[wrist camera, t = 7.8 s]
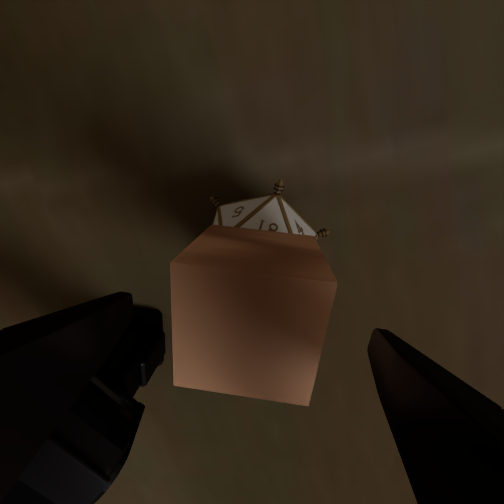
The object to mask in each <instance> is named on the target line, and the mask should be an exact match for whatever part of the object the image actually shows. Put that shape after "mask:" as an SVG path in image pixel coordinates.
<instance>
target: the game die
mask: <svg viewBox="0 0 504 504" xmlns="http://www.w3.org/2000/svg"><path fill="white" fill-rule="evenodd" d="M283 188H284V186H283V182H282V178H281V179H280V180H279V181H278V182H277V183H276V184H275V188H274V193H271V194H267V195H262V196H258V197H253V198H249V199H244V200H240V201H235V202H231V203H226V204H222V205H221V204H220V203H219V200H217V197H216V198H214V197H211V196H210V201H211V202H210V203H211V204H213V206H216V207H217V209H216V213H215V216H214V220H213V223H212V224H213V225H222V226H230V227H239V228H248V229H257V230H266V231H275V232H284V233H293V234H302V235H311V236H314V238H315V240H316V242H317V240H318V237H324V236H327V234H328V233H329V232H330V231H329V230H326V229H324V228H323V230H321V229H320V231H318V232H316V231H315V230H314V229H313V228H312V227H311V226H310V225H309V224H308V223H307V222H306V221H305V220H304V219H303V218H302V217H301V216H300V215H299V214H298V213H297V212H296V211H295V210H294V209H293V208H292V207H291V206H290V205H289V204H288V203H287V202H286V201H285V200H284V199H283V198H282V197H281V196H280V193H281V191H283V190H282V189H283Z"/></svg>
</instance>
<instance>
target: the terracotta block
mask: <svg viewBox="0 0 504 504" xmlns="http://www.w3.org/2000/svg"><path fill="white" fill-rule="evenodd" d="M170 276H171V309H172V343H173V377H174V386H180V387H186V388H193V389H199V390H206V391H212V392H219V393H226V394H232V395H239V396H245V397H252V398H258V399H265V400H271V401H278V402H284V403H291V404H297V405H304V406H309V402H310V398H311V394H312V390H313V385H314V381H315V377H316V373H317V369H318V364H319V360H320V356H321V352H322V348H323V343H324V339H325V335H326V331H327V327H328V322H329V318H330V314H331V310H332V306H333V301H334V297H335V293H336V289H337V285H338V282H337V280H336V278H335V276H334V274H333V272H332V271H331V269H330V267H329V265H328V263H327V261H326V259H325V257H324V255H323V253H322V252H321V250H320V248H319V246H318V244H317V242H316V240H315V238H314V236H311V235H302V234H293V233H284V232H275V231H266V230H257V229H248V228H239V227H230V226H222V225H213V224H212V225H211V226H210V227H208V228H207V229H206V230H205V231H204V232H203V233H202V234H201V235H200V236H198V237H197V238H196V239H195V240H194V241H193V242H192V243H191V244H190V245H189V246H187V247H186V248H185V249H184V250H183V251H182V252H181V253H180V254H179V255H177V256H176V257H175V258H174V259H173V260H172V261H171V262H170Z"/></svg>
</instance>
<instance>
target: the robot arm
mask: <svg viewBox="0 0 504 504" xmlns="http://www.w3.org/2000/svg"><path fill="white" fill-rule="evenodd" d="M155 315H157V316H158V317H156V316H155ZM164 354H165V333H164V332H163V321H162V313H161V312H160V311H157V310H150V309H143V308H136V307H133V300H132V295H131V294H130V293H127V292H117V293H113V294H110V295H107V296H104V297H101V298H98V299H95V300H91V301H88V302H85V303H82V304H79V305H76V306H73V307H69V308H66V309H63V310H60V311H57V312H54V313H51V314H47V315H44V316H41V317H38V318H35V319H32V320H28V321H25V322H22V323H19V324H16V325H13V326H10V327H6V328H3V329H2V330H0V504H94V503H95V502H96V501H97V500H99V499H100V497H101V496H102V495H103V494H104V493H105V492H106V491H107V489H108V488H109V487H110V485H111V484H112V483H113V481H114V480H115V478H116V477H117V476H118V474H119V472H120V471H121V469H122V467H123V465H124V463H125V462H126V460H127V457H128V455H129V452H130V450H131V447H132V444H133V441H134V438H135V435H136V432H137V429H138V426H139V423H140V420H141V418H142V415H143V412H144V409H145V406H144V405H143V404H142V403H141V402H138V401H136V400H135V399H134V398H133V396H134V395H135V393H136V391H137V390H138V388H139V387H140V386H141V387H144V386H145V385H146V384H147V383H148V381H149V379H150V378H151V376H152V374H153V373H154V371H155V369H156V368H157V366H158V365H161V364H162V363H163V361H164ZM368 356H369V360H370V364H371V368H372V372H373V376H374V380H375V384H376V388H377V392H378V395H379V398H380V401H381V404H382V407H383V409H384V412H385V415H386V418H387V420H388V423H389V426H390V429H391V431H392V434H393V437H394V440H395V442H396V445H397V448H398V451H399V453H400V456H401V459H402V462H403V464H404V467H405V470H406V473H407V475H408V478H409V481H410V484H411V486H412V489H413V492H414V495H415V498H416V500H417V503H418V504H504V409H503V410H502V407H501V406H499V405H498V404H496V403H495V402H493V401H492V400H490V399H489V398H487V397H486V396H484V395H483V394H481V393H480V392H478V391H477V390H476V389H474V388H473V387H471V386H470V385H468V384H467V383H465V382H464V381H462V380H461V379H459V378H458V377H456V376H455V375H453V374H452V373H450V372H449V371H448V370H446V369H445V368H443V367H442V366H440V365H439V364H437V363H436V362H434V361H433V360H431V359H430V358H428V357H427V356H425V355H424V354H422V353H421V352H420V351H418V350H417V349H415V348H414V347H412V346H411V345H409V344H408V343H406V342H405V341H403V340H402V339H400V338H399V337H397V336H396V335H394V334H393V333H392V332H390V331H389V330H386V329H379V328H376V329H374V330H373V333H372V336H371V339H370V342H369V345H368Z"/></svg>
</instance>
